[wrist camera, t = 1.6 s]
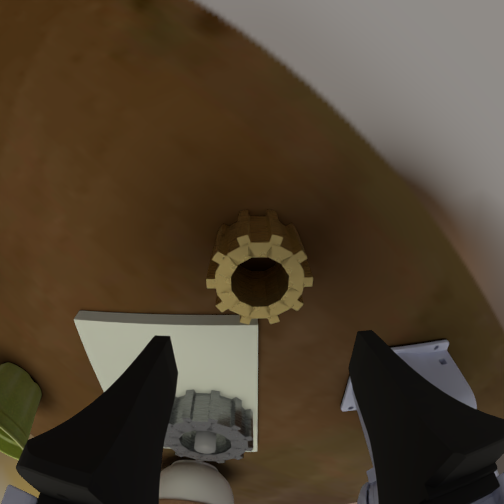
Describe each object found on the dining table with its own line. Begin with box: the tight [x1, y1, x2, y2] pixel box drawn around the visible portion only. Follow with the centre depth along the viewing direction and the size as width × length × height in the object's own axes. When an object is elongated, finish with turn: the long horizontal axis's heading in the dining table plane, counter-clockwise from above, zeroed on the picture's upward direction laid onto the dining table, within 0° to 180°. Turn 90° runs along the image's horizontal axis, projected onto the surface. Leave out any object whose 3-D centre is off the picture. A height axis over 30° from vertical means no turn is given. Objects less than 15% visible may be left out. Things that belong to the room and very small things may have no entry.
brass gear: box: [206, 209, 313, 324], centre depth 18 cm, size 6×6×4 cm
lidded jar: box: [159, 460, 234, 504], centre depth 29 cm, size 11×11×9 cm
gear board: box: [74, 311, 258, 454], centre depth 24 cm, size 14×18×5 cm
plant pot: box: [0, 362, 42, 460], centre depth 23 cm, size 9×9×9 cm
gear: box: [163, 389, 253, 463], centre depth 25 cm, size 8×8×3 cm
